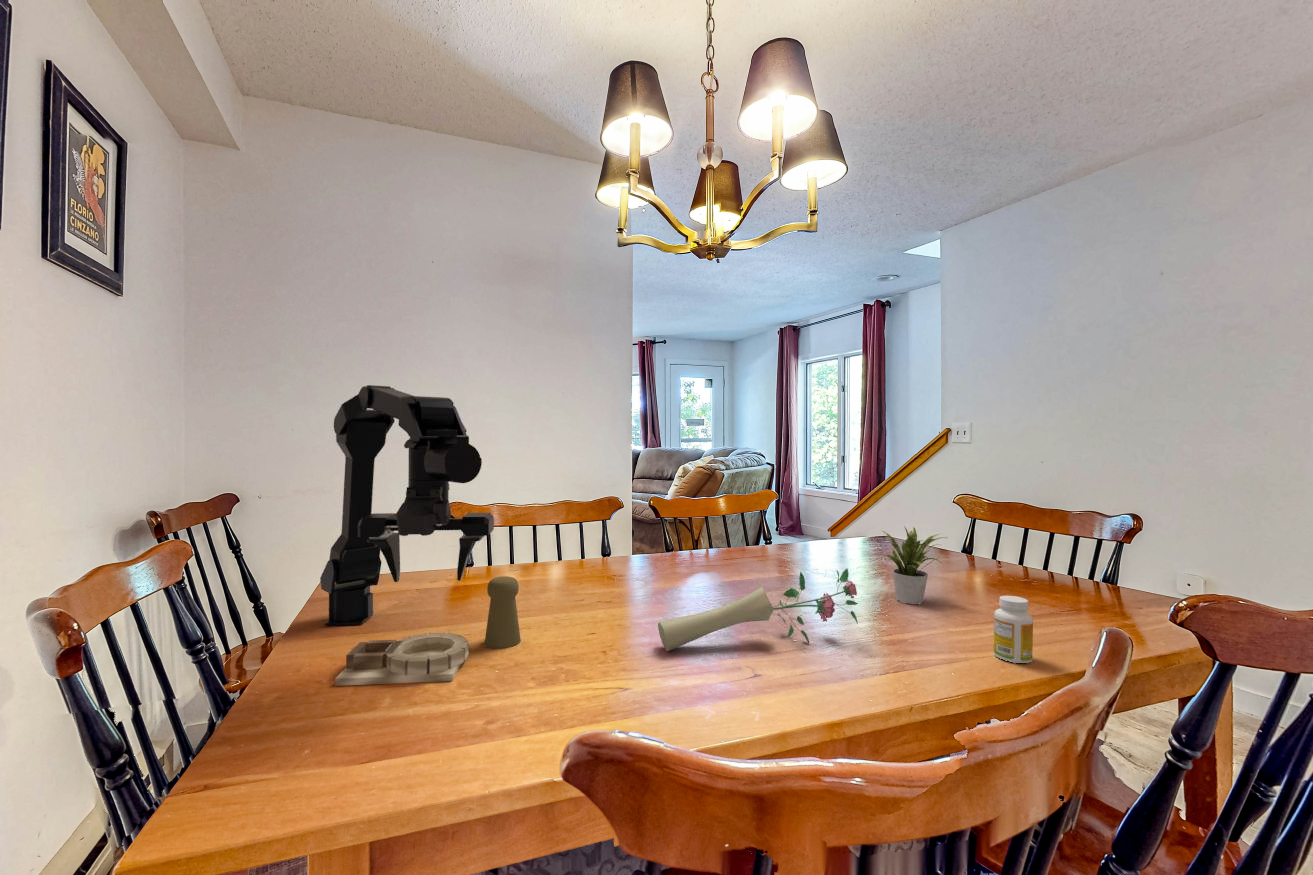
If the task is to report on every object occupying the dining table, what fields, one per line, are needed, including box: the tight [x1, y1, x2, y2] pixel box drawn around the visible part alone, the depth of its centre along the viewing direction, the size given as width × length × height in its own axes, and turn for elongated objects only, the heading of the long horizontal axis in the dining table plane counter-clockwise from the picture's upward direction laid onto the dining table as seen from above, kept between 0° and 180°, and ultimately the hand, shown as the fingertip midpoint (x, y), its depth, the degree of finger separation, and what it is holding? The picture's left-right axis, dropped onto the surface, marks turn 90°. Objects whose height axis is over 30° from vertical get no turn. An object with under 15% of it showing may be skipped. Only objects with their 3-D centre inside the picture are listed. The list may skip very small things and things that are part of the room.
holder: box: [334, 631, 470, 687], centre depth 89 cm, size 17×12×3 cm
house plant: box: [882, 525, 947, 605], centre depth 124 cm, size 14×14×16 cm
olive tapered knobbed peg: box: [484, 575, 522, 649], centre depth 99 cm, size 6×6×11 cm
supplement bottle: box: [993, 595, 1034, 664], centre depth 95 cm, size 5×5×10 cm
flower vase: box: [657, 568, 859, 653], centre depth 100 cm, size 12×12×35 cm
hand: (428, 580), depth 89 cm, fingers open, 9 cm apart
